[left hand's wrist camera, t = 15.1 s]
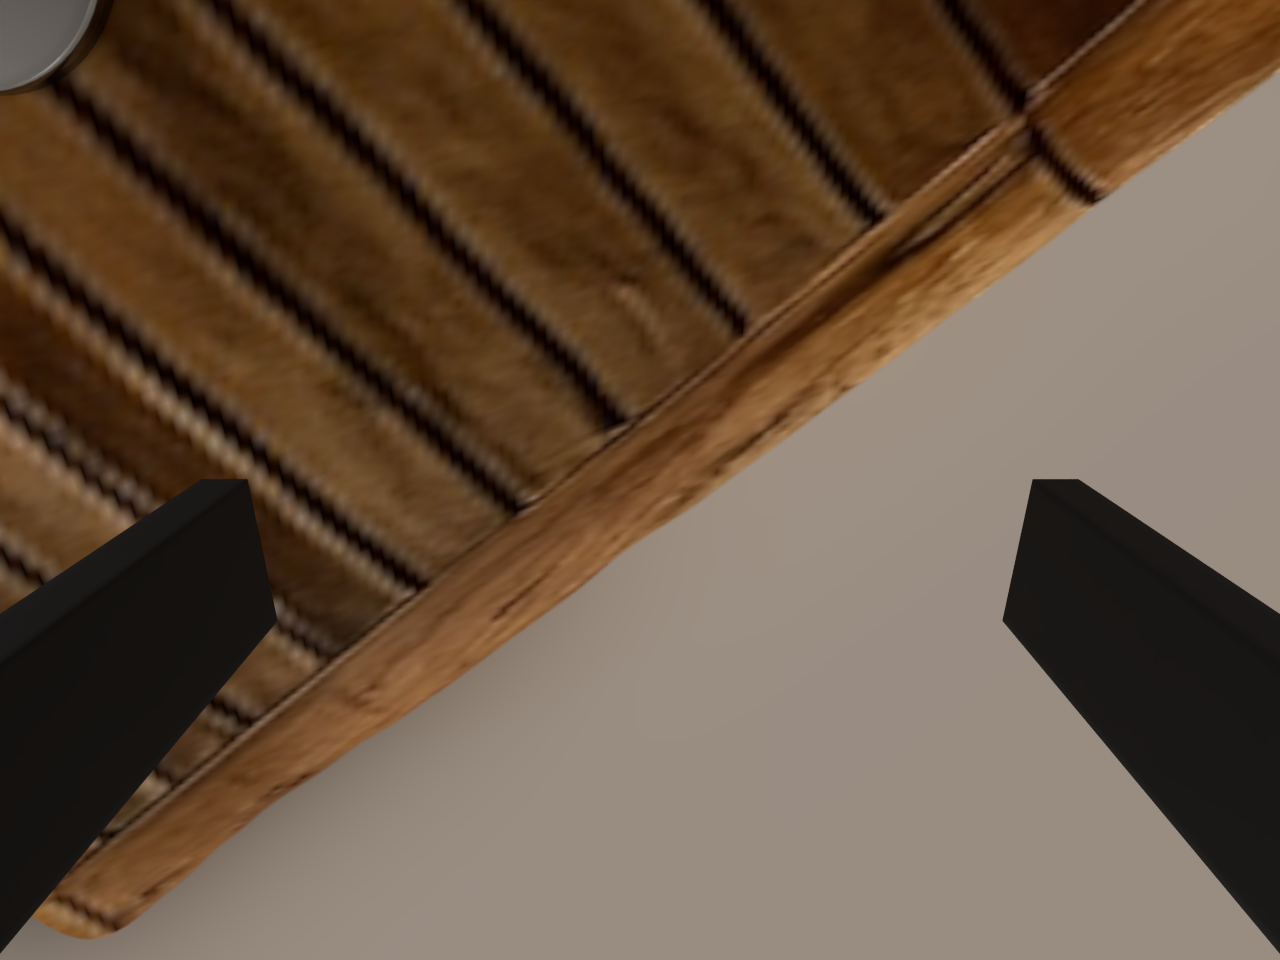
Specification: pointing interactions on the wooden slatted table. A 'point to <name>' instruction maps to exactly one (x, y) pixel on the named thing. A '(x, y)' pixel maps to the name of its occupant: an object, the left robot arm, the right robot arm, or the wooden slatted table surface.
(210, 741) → the wooden slatted table surface
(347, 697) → the wooden slatted table surface
